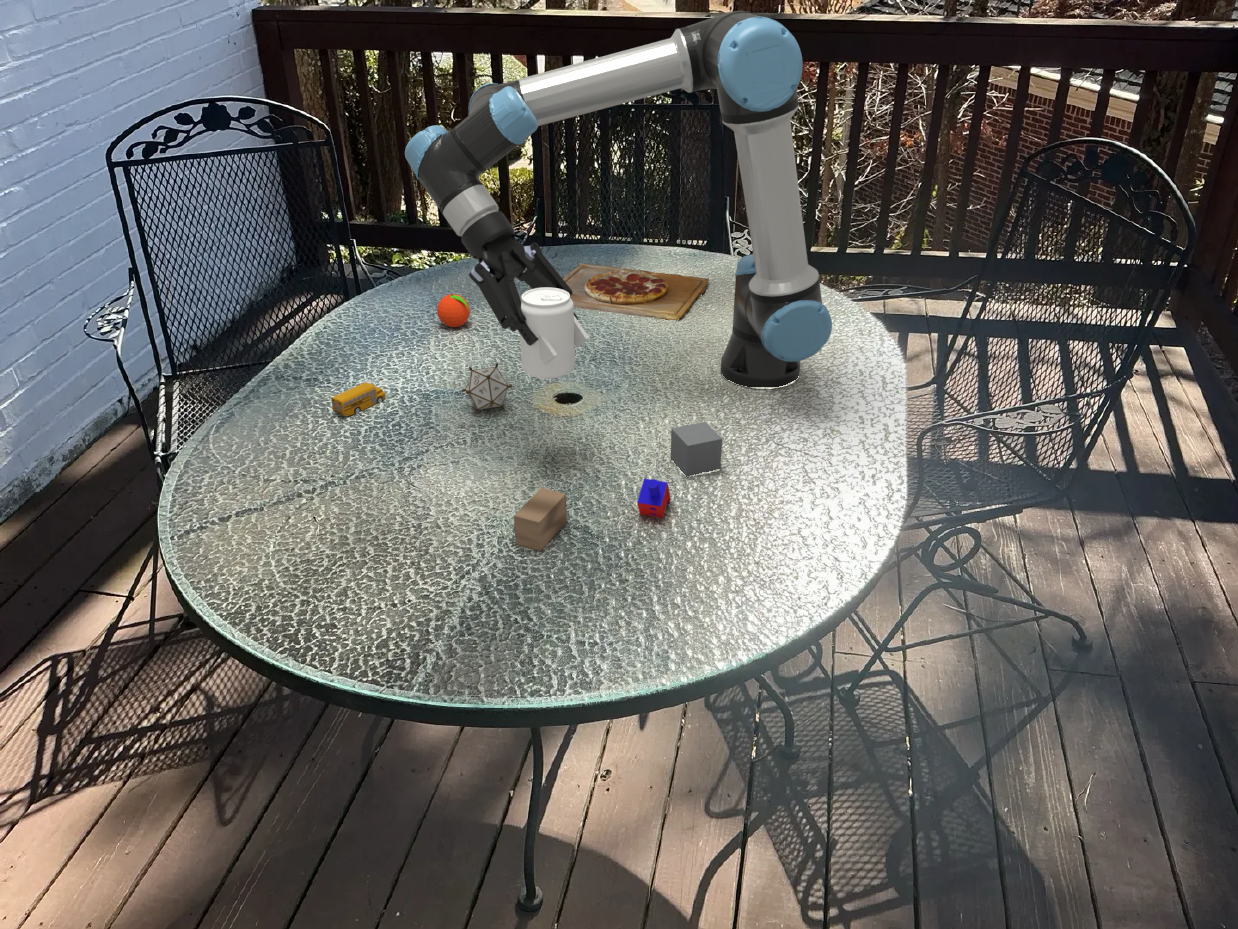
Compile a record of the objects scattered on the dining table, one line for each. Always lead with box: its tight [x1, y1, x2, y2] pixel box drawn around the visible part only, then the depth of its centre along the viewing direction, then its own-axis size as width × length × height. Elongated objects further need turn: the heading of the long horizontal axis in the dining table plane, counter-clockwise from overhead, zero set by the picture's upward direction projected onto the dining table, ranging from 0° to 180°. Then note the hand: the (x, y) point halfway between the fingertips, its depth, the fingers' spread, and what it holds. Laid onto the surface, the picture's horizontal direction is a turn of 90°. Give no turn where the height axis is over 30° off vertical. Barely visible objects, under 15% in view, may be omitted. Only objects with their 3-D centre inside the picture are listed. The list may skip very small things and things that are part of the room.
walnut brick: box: [513, 487, 568, 552], centre depth 134 cm, size 8×4×5 cm, turn 155°
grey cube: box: [670, 421, 723, 478], centre depth 150 cm, size 6×6×6 cm
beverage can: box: [519, 287, 576, 380], centre depth 141 cm, size 8×8×12 cm
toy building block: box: [636, 478, 671, 519], centre depth 138 cm, size 4×4×8 cm
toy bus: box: [331, 381, 386, 417], centre depth 168 cm, size 3×10×4 cm, turn 144°
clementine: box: [436, 293, 471, 328], centre depth 198 cm, size 8×7×7 cm
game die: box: [460, 362, 514, 415], centre depth 166 cm, size 9×8×10 cm
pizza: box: [561, 262, 710, 320], centre depth 217 cm, size 35×28×4 cm
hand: (567, 350), depth 140 cm, fingers closed on beverage can, 7 cm apart
